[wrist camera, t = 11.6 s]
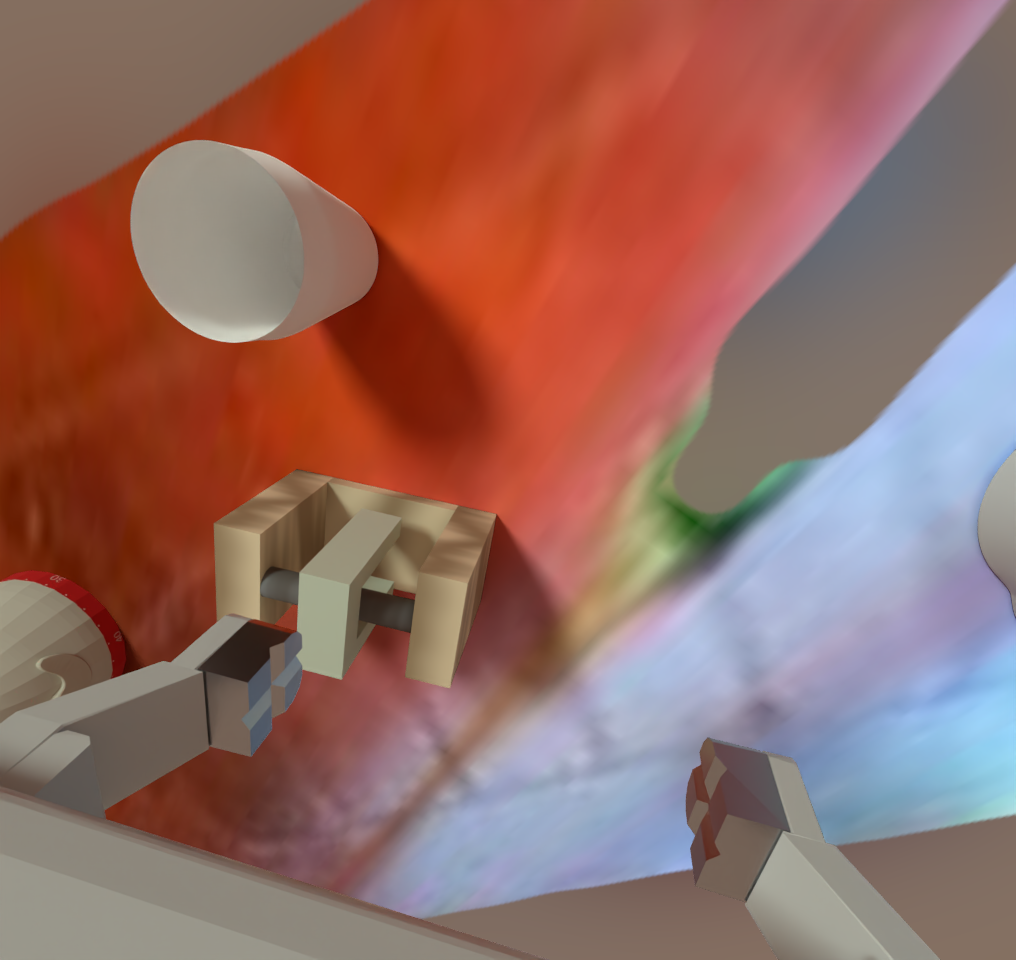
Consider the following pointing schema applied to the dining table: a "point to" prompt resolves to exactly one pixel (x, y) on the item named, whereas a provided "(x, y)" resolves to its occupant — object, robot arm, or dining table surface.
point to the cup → (246, 243)
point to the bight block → (342, 592)
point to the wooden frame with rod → (409, 563)
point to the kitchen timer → (52, 640)
